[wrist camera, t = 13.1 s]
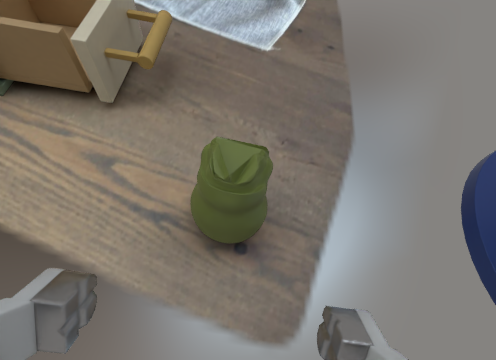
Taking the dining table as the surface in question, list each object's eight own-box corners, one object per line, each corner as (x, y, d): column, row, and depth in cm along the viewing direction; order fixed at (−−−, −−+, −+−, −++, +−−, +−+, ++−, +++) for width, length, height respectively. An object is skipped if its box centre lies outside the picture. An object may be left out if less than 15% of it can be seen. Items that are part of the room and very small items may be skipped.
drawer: (180, 45, 33) (173, -18, 27) (156, 110, 28) (140, 50, 22) (43, 22, 32) (5, -48, 26) (-6, 84, 27) (-67, 15, 21)
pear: (186, 241, 23) (168, 184, 14) (205, 185, 25) (200, 107, 16) (253, 258, 22) (277, 211, 14) (265, 200, 25) (292, 130, 16)
